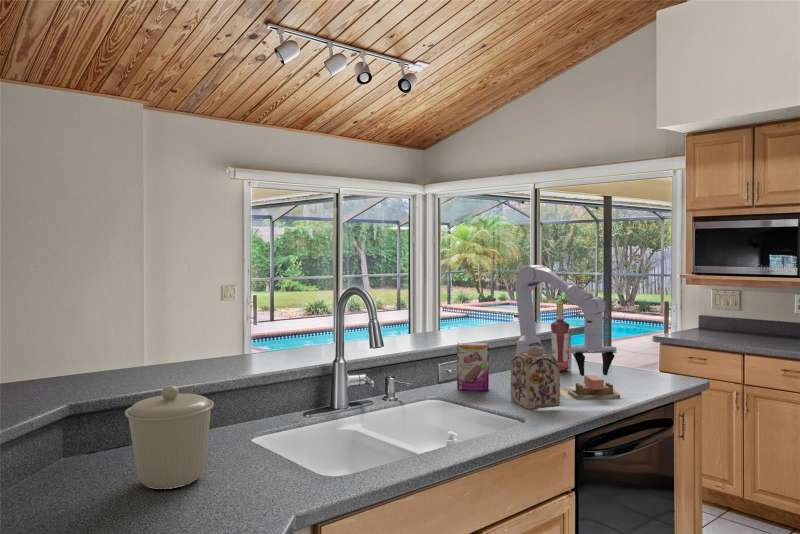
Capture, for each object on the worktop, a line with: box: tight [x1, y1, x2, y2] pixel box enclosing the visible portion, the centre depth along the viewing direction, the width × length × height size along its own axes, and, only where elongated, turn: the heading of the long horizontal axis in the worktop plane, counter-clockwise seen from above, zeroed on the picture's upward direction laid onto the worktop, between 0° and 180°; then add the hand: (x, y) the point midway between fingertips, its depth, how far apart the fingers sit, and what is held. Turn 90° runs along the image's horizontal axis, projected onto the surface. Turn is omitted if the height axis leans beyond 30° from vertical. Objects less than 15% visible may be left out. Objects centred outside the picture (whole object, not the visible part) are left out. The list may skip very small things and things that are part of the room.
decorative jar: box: [510, 347, 561, 410], centre depth 189 cm, size 12×12×18 cm
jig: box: [560, 386, 629, 400], centre depth 198 cm, size 20×16×2 cm
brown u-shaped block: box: [575, 382, 614, 395], centre depth 193 cm, size 11×4×4 cm, turn 92°
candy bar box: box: [456, 342, 490, 392], centre depth 208 cm, size 11×5×16 cm, turn 84°
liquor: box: [550, 301, 570, 373], centre depth 238 cm, size 7×7×28 cm
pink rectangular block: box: [583, 374, 605, 390], centre depth 193 cm, size 4×8×3 cm, turn 1°
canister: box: [124, 385, 215, 488], centre depth 128 cm, size 18×18×21 cm
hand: (593, 375), depth 193 cm, fingers open, 7 cm apart
